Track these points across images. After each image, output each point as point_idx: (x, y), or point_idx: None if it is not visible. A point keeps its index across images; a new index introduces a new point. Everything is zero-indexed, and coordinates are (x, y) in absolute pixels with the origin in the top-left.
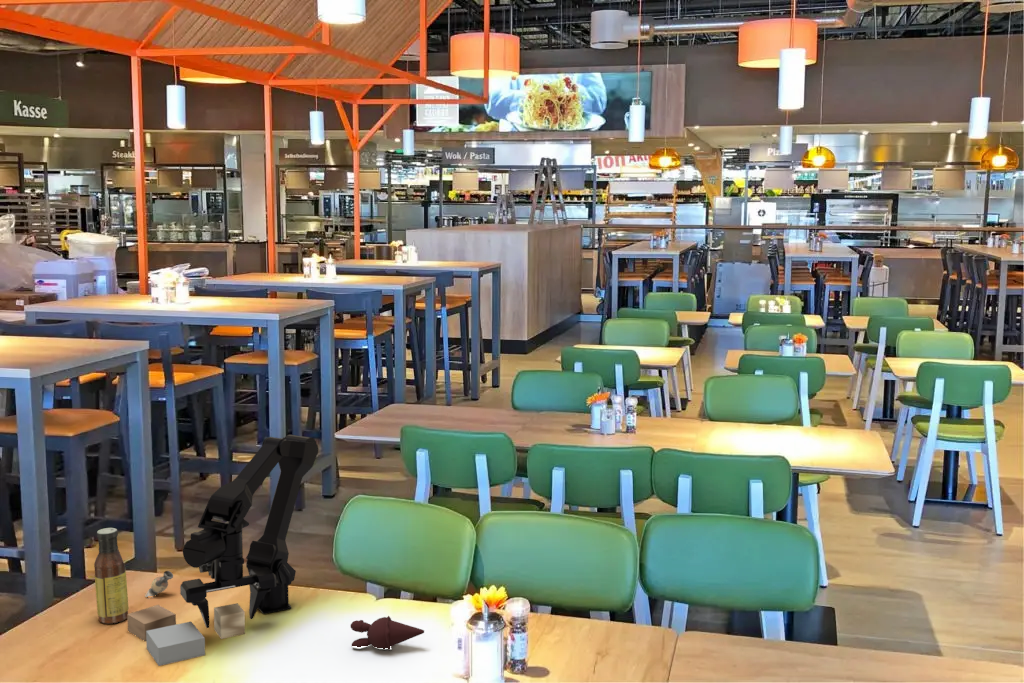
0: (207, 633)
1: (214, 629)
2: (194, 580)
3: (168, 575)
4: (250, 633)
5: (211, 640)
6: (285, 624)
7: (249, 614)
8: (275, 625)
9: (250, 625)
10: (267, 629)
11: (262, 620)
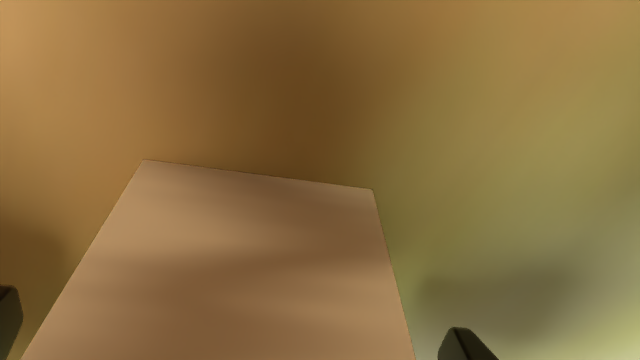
0: (63, 192)
1: (142, 166)
2: None
3: None
4: None
5: None
6: (620, 350)
7: (461, 355)
8: (567, 333)
9: (445, 251)
10: None
11: (579, 226)
